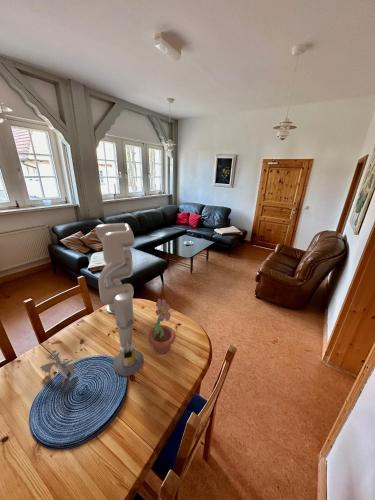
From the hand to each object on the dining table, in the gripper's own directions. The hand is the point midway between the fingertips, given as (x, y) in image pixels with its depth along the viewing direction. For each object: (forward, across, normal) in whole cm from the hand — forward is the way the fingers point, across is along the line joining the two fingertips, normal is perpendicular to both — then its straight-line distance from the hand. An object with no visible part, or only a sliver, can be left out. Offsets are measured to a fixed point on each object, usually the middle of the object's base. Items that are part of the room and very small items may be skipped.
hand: (127, 348), depth 96 cm
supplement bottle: (+8, 0, 0) cm, 8 cm away
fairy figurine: (+9, -2, -28) cm, 30 cm away
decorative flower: (+9, -3, +17) cm, 19 cm away
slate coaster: (+9, 0, 0) cm, 9 cm away
